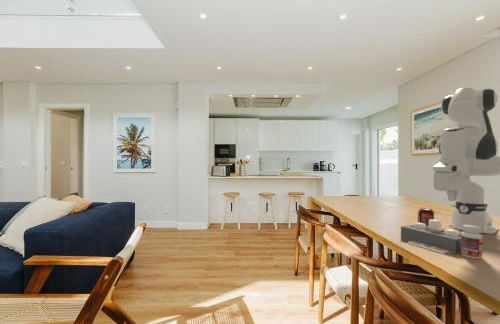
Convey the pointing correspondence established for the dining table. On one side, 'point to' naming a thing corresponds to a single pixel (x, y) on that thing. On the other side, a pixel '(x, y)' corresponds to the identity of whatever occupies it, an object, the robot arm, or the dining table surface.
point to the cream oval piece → (419, 225)
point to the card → (428, 247)
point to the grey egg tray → (432, 238)
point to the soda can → (425, 215)
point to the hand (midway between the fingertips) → (452, 200)
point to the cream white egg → (435, 226)
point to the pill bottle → (471, 242)
